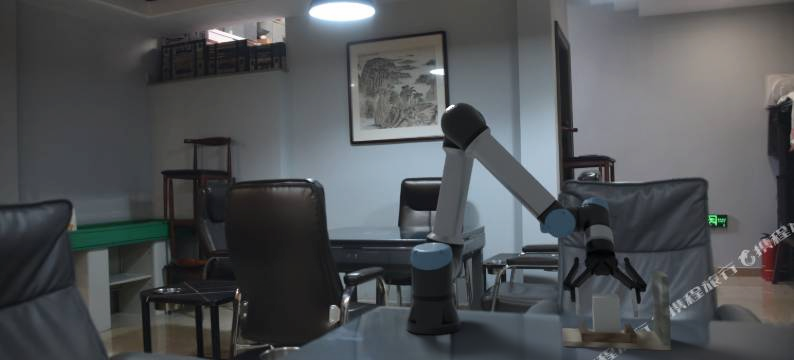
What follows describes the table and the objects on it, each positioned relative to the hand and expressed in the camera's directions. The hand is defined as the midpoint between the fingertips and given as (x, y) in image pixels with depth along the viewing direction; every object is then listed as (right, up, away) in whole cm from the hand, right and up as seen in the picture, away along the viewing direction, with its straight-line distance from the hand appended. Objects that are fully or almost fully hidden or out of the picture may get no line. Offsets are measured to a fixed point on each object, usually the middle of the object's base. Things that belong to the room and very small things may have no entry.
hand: (606, 313), depth 141 cm
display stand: (+2, -7, +2) cm, 8 cm away
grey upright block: (+1, -6, +2) cm, 7 cm away
